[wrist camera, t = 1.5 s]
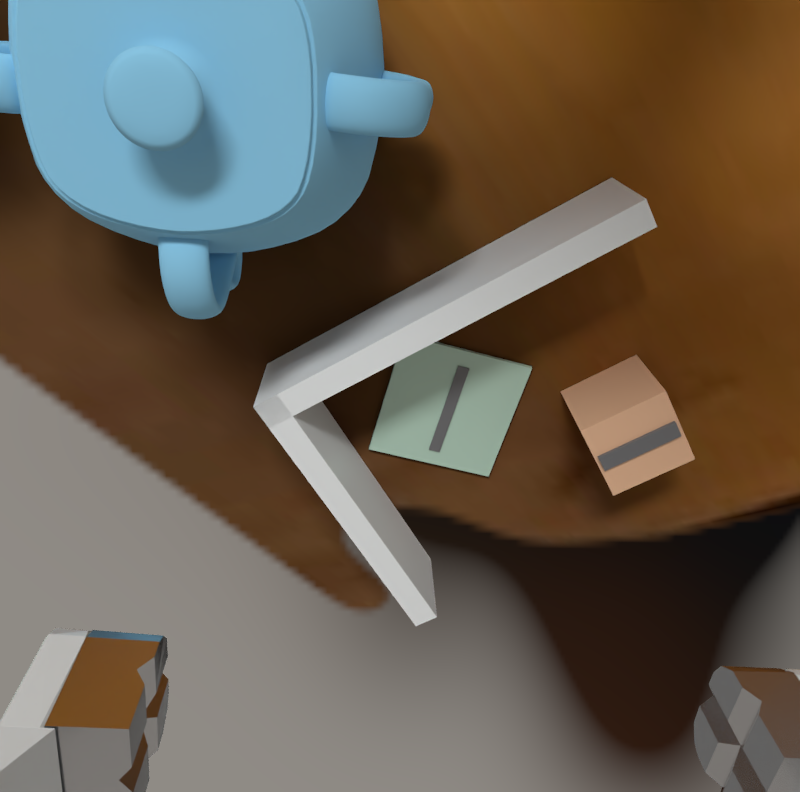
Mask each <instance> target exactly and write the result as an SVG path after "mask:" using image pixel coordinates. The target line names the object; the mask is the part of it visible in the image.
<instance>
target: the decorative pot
mask: <svg viewBox="0 0 800 792" xmlns="http://www.w3.org/2000/svg"><path fill="white" fill-rule="evenodd" d="M8 26H9V41H0V113H12V114H21V117H22V121H23V124H24V128H25V131H26V135H27V138H28V141H29V144H30V147H31V150H32V153H33V156H34V159H35V162H36V165H37V167H38V169H39V171H40V172H41V174H42V176H43V178H44V180H45V181H46V182H47V184H48V185H49V186H50V187H51V188H52V190H53V191H54V192H55V193H56V194H57V195H58V196H59V197H60V198H61V199H62V200H63V201H64V202H65V203H66V204H68V205H69V206H70V207H71V208H72V209H74V210H75V211H77V212H78V213H80V214H81V215H83V216H84V217H86V218H87V219H89V220H91V221H93V222H95V223H97V224H99V225H102V226H104V227H106V228H108V229H110V230H112V231H115V232H117V233H120V234H123V235H126V236H128V237H131V238H134V239H137V240H140V241H143V242H147V243H150V244H153V245H157V246H158V250H159V263H160V272H161V278H162V283H163V288H164V291H165V295H166V298H167V300H168V303H169V305H170V307H171V308H172V309H173V311H174V312H176V313H177V314H178V315H180V316H182V317H186V318H190V319H207V318H212V317H214V316H216V315H218V314H219V313H221V312H222V310H223V309H224V307H225V305H226V302H227V299H228V295H229V291H230V290H232V289H234V288H235V287H236V286H237V285H238V283H239V281H240V278H241V270H242V252H251V251H257V250H262V249H267V248H272V247H276V246H280V245H284V244H287V243H291V242H295V241H298V240H300V239H303V238H305V237H308V236H310V235H313V234H315V233H318V232H320V231H321V230H323V229H325V228H326V227H328V226H330V225H331V224H333V223H335V222H336V221H337V220H338V219H339V218H340V217H341V216H342V215H343V214H345V213H346V212H347V211H348V210H349V209H350V208H351V207H352V205H353V204H354V203H355V201H356V200H357V199H358V197H359V196H360V195H361V193H362V191H363V188H364V186H365V184H366V182H367V180H368V178H369V175H370V171H371V167H372V163H373V159H374V155H375V151H376V147H377V142H378V137H396V138H406V137H415V136H417V135H419V134H421V133H422V132H423V130H424V129H425V127H426V125H427V122H428V119H429V115H430V110H431V107H432V104H433V91H432V88H431V85H430V84H429V83H428V82H427V81H425V80H423V79H419V78H416V77H413V76H409V75H405V74H401V73H396V72H390V71H384V55H383V39H382V29H381V22H380V15H379V8H378V2H377V0H8Z"/></svg>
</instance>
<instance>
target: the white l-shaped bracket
mask: <svg viewBox="0 0 800 792" xmlns="http://www.w3.org/2000/svg"><path fill="white" fill-rule="evenodd" d="M656 227H657V225H656V222H655V220H654V217H653V215H652V212H651V210H650V207H649V205H648V202H647V199H646V198H644V197H642V196H641V195H639V194H638V193H636V192H635V191H633V190H631V189H630V188H628V187H627V186H625V185H623V184H622V183H620V182H619V181H617V180H615V179H614V178H612V177H611V178H610V179H608V180H606V181H604V182H602V183H600V184H599V185H597V186H595V187H593V188H591V189H589V190H587V191H586V192H584V193H582V194H580V195H578V196H576V197H575V198H573V199H571V200H569V201H567V202H565V203H563V204H562V205H560V206H558V207H556V208H554V209H552V210H550V211H549V212H547V213H545V214H543V215H541V216H539V217H538V218H536V219H534V220H532V221H530V222H528V223H526V224H525V225H523V226H521V227H519V228H517V229H515V230H514V231H512V232H510V233H508V234H506V235H504V236H502V237H501V238H499V239H497V240H495V241H493V242H491V243H490V244H488V245H486V246H484V247H482V248H480V249H478V250H477V251H475V252H473V253H471V254H469V255H467V256H465V257H464V258H462V259H460V260H458V261H456V262H454V263H453V264H451V265H449V266H447V267H445V268H443V269H441V270H440V271H438V272H436V273H434V274H432V275H430V276H429V277H427V278H425V279H423V280H421V281H419V282H417V283H416V284H414V285H412V286H410V287H408V288H406V289H405V290H403V291H401V292H399V293H397V294H395V295H393V296H392V297H390V298H388V299H386V300H384V301H382V302H380V303H379V304H377V305H375V306H373V307H371V308H369V309H368V310H366V311H364V312H362V313H360V314H358V315H356V316H355V317H353V318H351V319H349V320H347V321H345V322H344V323H342V324H340V325H338V326H336V327H334V328H332V329H331V330H329V331H327V332H325V333H323V334H321V335H320V336H318V337H316V338H314V339H312V340H310V341H308V342H307V343H305V344H303V345H301V346H299V347H297V348H295V349H294V350H292V351H290V352H288V353H286V354H284V355H283V356H281V357H279V358H277V359H275V360H273V361H271V362H270V363H268V364H267V366H266V369H265V372H264V375H263V378H262V381H261V384H260V388H259V391H258V394H257V397H256V400H255V403H254V406H253V407H254V409H255V410H256V411H257V413H258V414H259V415H260V417H261V418H262V420H263V421H264V422H265V424H266V425H267V426H268V428H269V429H270V430H271V432H272V433H273V434H274V436H275V437H276V438H277V440H278V441H279V442H280V444H281V445H282V446H283V448H284V449H285V451H286V452H287V453H288V455H289V456H290V457H291V459H292V460H293V461H294V463H295V464H296V465H297V467H298V468H299V469H300V471H301V472H302V473H303V475H304V476H305V478H306V479H307V480H308V482H309V483H310V484H311V486H312V487H313V488H314V490H315V491H316V492H317V494H318V495H319V496H320V498H321V499H322V500H323V502H324V503H325V504H326V506H327V507H328V509H329V510H330V511H331V513H332V514H333V515H334V517H335V518H336V519H337V521H338V522H339V523H340V525H341V526H342V527H343V529H344V530H345V531H346V533H347V534H348V535H349V537H350V538H351V540H352V541H353V542H354V544H355V545H356V546H357V548H358V549H359V550H360V552H361V553H362V554H363V556H364V557H365V558H366V560H367V561H368V562H369V564H370V565H371V566H372V568H373V569H374V571H375V572H376V573H377V575H378V576H379V577H380V579H381V580H382V581H383V583H384V584H385V585H386V587H387V588H388V589H389V591H390V592H391V593H392V595H393V596H394V597H395V599H396V600H397V601H398V603H399V604H400V605H401V607H402V608H403V610H404V611H405V612H406V614H407V615H408V616H409V618H410V619H411V620H412V622H413V623H414V624H415V626H418V625H420V624H422V623H425V622H427V621H429V620H431V619H434V618H436V617H437V613H436V603H435V594H434V584H433V575H432V566H431V559H430V557H429V556H428V555H427V553H426V552H425V550H424V549H423V547H422V546H421V544H420V543H419V541H418V540H417V539H416V537H415V536H414V534H413V533H412V531H411V530H410V528H409V527H408V526H407V524H406V523H405V521H404V520H403V518H402V517H401V515H400V514H399V512H398V511H397V509H396V508H395V507H394V505H393V504H392V502H391V501H390V499H389V498H388V496H387V495H386V493H385V492H384V491H383V489H382V488H381V486H380V485H379V483H378V482H377V480H376V479H375V477H374V476H373V475H372V473H371V472H370V470H369V469H368V467H367V466H366V464H365V463H364V461H363V460H362V459H361V457H360V456H359V454H358V453H357V451H356V450H355V448H354V447H353V445H352V444H351V443H350V441H349V440H348V438H347V437H346V435H345V434H344V432H343V431H342V429H341V428H340V427H339V425H338V424H337V422H336V421H335V419H334V418H333V416H332V415H331V413H330V412H329V411H328V409H327V408H326V406H325V405H324V403H323V402H322V401H323V400H325V399H327V398H329V397H331V396H333V395H335V394H336V393H338V392H340V391H342V390H344V389H346V388H348V387H350V386H352V385H354V384H356V383H358V382H360V381H362V380H363V379H365V378H367V377H369V376H371V375H373V374H375V373H377V372H379V371H381V370H383V369H385V368H387V367H388V366H390V365H392V364H394V363H395V364H394V367H393V370H392V374H391V377H390V380H389V383H388V387H387V390H386V393H385V396H384V400H383V403H382V406H381V409H380V413H379V416H378V419H377V422H376V426H375V429H374V432H373V435H372V438H371V442H370V445H369V450H374V451H378V452H383V453H387V454H391V455H396V456H400V457H405V458H409V459H413V460H418V461H422V462H426V463H431V464H435V465H440V466H444V467H448V468H453V469H457V470H462V471H466V472H470V473H475V474H479V475H483V476H488V477H489V474H490V472H491V469H492V467H493V464H494V462H495V459H496V457H497V454H498V452H499V449H500V447H501V444H502V442H503V440H504V437H505V435H506V432H507V430H508V427H509V425H510V422H511V420H512V417H513V415H514V412H515V410H516V407H517V405H518V402H519V400H520V397H521V395H522V392H523V390H524V387H525V385H526V382H527V380H528V378H529V375H530V373H531V370H532V366H529V365H525V364H521V363H517V362H513V361H509V360H506V359H502V358H498V357H494V356H490V355H486V354H482V353H478V352H474V351H470V350H466V349H462V348H459V347H455V346H451V345H447V344H443V343H439V342H437V341H438V340H440V339H442V338H444V337H446V336H448V335H450V334H452V333H454V332H456V331H458V330H460V329H462V328H463V327H465V326H467V325H469V324H471V323H473V322H475V321H477V320H479V319H481V318H483V317H485V316H487V315H488V314H490V313H492V312H494V311H496V310H498V309H500V308H502V307H504V306H506V305H508V304H510V303H512V302H513V301H515V300H517V299H519V298H521V297H523V296H525V295H527V294H529V293H531V292H533V291H535V290H537V289H538V288H540V287H542V286H544V285H546V284H548V283H550V282H552V281H554V280H556V279H558V278H560V277H562V276H563V275H565V274H567V273H569V272H571V271H573V270H575V269H577V268H579V267H581V266H583V265H585V264H587V263H588V262H590V261H592V260H594V259H596V258H598V257H600V256H602V255H604V254H606V253H608V252H610V251H612V250H614V249H615V248H617V247H619V246H621V245H623V244H625V243H627V242H629V241H631V240H633V239H635V238H637V237H639V236H640V235H642V234H644V233H646V232H648V231H650V230H652V229H654V228H656Z"/></svg>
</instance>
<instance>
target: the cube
mask: <svg viewBox="0 0 800 792" xmlns="http://www.w3.org/2000/svg"><path fill="white" fill-rule="evenodd" d="M561 394H562V396H563V398H564V400H565V402H566V404H567V406H568V408H569V410H570V412H571V414H572V416H573V418H574V420H575V422H576V424H577V425H578V427H579V429H580V431H581V433H582V435H583V437H584V439H585V441H586V443H587V445H588V447H589V449H590V451H591V453H592V455H593V457H594V459H595V461H596V463H597V465H598V467H599V469H600V471H601V472H602V474H603V476H604V478H605V480H606V482H607V484H608V486H609V488H610V490H611V492H612V494H613V496H614V495H616V494H619V493H621V492H623V491H625V490H628V489H630V488H632V487H634V486H636V485H639V484H641V483H643V482H645V481H648V480H650V479H652V478H654V477H656V476H659V475H661V474H663V473H665V472H668V471H670V470H672V469H674V468H677V467H679V466H681V465H683V464H685V463H688V462H690V461H692V460H694V459H695V457H694V455H693V453H692V450H691V448H690V446H689V443H688V441H687V439H686V436H685V434H684V432H683V430H682V427H681V425H680V423H679V420H678V418H677V416H676V413H675V411H674V409H673V406H672V404H671V402H670V399H669V397H668V395H667V392H666V391H665V389H664V388H663V387H662V386H661V384H660V383H659V382H658V381H657V379H656V378H655V377H654V376H653V374H652V373H651V372H650V371H649V369H648V368H647V367H646V366H645V364H644V363H643V362H642V361H641V360H640V358H639V357H638V356H637V355H635V356H632V357H630V358H628V359H626V360H624V361H622V362H620V363H618V364H616V365H614V366H612V367H610V368H608V369H606V370H604V371H602V372H600V373H598V374H595V375H593V376H591V377H589V378H587V379H585V380H583V381H581V382H579V383H577V384H575V385H573V386H571V387H569V388H567V389H565V390H563V391H561Z"/></svg>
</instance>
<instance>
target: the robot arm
mask: <svg viewBox="0 0 800 792" xmlns="http://www.w3.org/2000/svg"><path fill="white" fill-rule="evenodd" d="M167 657H168V651H167V638H166V637H164V636H159V635H147V634H135V633H121V632H109V631H97V630H93V631H87V630H75V629H63V628H55V629H54V630H53V631H52V632H51V633H49V634H48V635H47V636H46V638H45V640H44V641H43V643H42V645H41V647H40V649H39V651H38V653H37V654H36V656H35V658H34V660H33V662H32V664H31V665H30V667H29V669H28V671H27V673H26V675H25V676H24V678H23V680H22V682H21V684H20V686H19V687H18V689H17V691H16V693H15V695H14V697H13V699H12V700H11V702H10V704H9V706H8V708H7V710H6V711H5V713H4V715H3V717H2V719H1V720H0V792H146V789H147V785H148V782H149V763H148V761H149V760H148V758H149V757H151V756H152V755H153V754H154V753H155V752H156V751H157V750H158V748H159V744H160V741H161V737H162V734H163V730H164V724H165V719H166V713H167V707H168V694H169V692H168V691H169V689H168V687H169V685H168V679H167V677H166V676H165V675H164V674H163V670H164V666H165V663H166V660H167ZM709 686H710V688H711V690H712V692H713V694H714V696H713V697H711V698H710V699H709V700H708V701H706V702H705V703H704V704H702V705H700V707H699V710H698V713H697V715H696V718H695V721H694V742H695V747H696V751H697V755H698V758H699V760H700V762H701V764H702V766H703V769H704V771H705V773H706V774H707V775H709V776H710V777H711V778H712V779H713V780H714V781H716V782H717V783H718V784H719V785H720V786H721V787H722V789H721V792H800V669H784V670H783V669H777V668H754V667H731V666H721V667H720V668H718V669H717V670H716V671H715V672H714V673H713V676H712V678H711V680H710V683H709Z"/></svg>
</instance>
